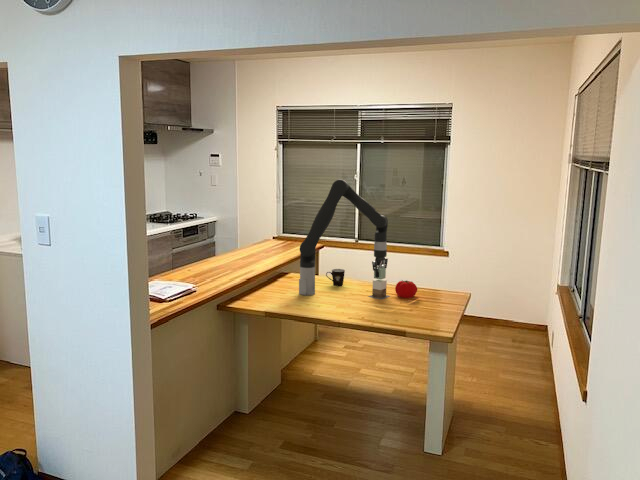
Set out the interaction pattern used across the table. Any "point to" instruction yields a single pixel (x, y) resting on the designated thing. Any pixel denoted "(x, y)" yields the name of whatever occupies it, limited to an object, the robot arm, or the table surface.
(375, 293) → the walnut block
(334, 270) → the coffee mug
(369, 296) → the slate coaster
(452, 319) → the table surface
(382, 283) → the cream block
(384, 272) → the sage block
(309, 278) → the robot arm
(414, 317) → the table surface
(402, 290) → the tomato
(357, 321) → the table surface
